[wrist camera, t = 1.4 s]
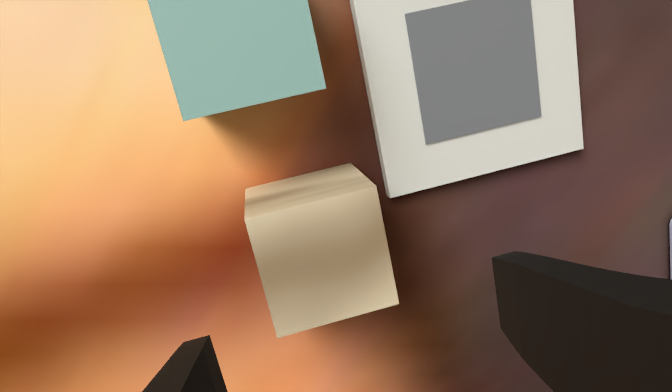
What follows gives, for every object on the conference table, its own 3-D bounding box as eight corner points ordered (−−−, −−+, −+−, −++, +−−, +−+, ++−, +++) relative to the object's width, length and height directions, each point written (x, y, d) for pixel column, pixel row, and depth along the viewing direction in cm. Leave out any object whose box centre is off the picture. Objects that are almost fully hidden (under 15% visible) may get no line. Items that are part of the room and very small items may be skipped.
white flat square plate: (574, 146, 22) (584, 149, 22) (386, 194, 21) (390, 198, 21) (558, -69, 20) (569, -74, 19) (344, -26, 19) (348, -30, 18)
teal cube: (308, 84, 20) (326, 88, 15) (197, 110, 19) (183, 120, 15) (282, -35, 18) (293, -68, 14) (162, -12, 18) (136, -38, 14)
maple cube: (370, 258, 22) (399, 303, 18) (271, 284, 22) (277, 337, 17) (350, 162, 21) (376, 185, 16) (245, 188, 20) (244, 219, 16)
